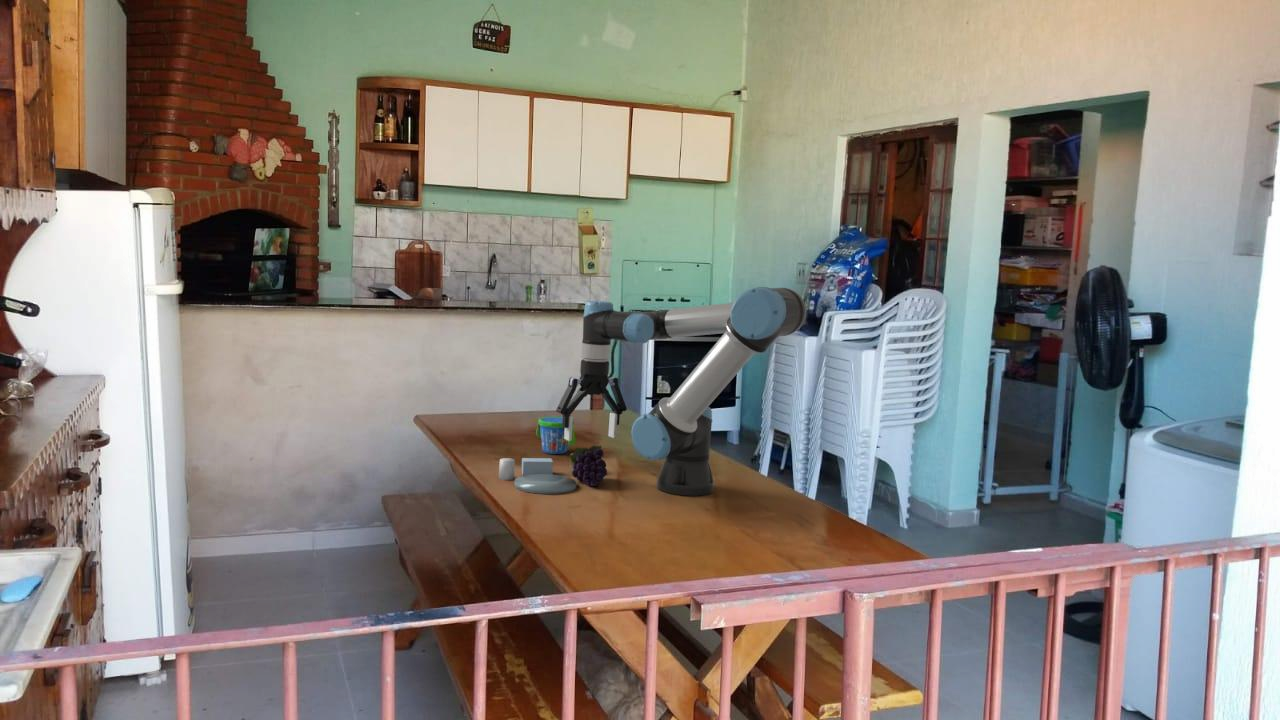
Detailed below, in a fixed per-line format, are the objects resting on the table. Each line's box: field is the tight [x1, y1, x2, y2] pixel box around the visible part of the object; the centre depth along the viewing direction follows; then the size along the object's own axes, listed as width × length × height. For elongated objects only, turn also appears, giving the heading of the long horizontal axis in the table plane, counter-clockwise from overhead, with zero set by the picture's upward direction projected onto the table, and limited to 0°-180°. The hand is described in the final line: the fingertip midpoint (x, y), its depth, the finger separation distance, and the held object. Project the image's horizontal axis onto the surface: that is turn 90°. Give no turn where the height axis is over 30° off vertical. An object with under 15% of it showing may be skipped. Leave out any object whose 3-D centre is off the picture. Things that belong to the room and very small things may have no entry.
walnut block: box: [568, 453, 574, 473], centre depth 262 cm, size 5×5×5 cm
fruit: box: [568, 444, 608, 488], centre depth 250 cm, size 10×11×15 cm
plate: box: [514, 474, 577, 495], centre depth 243 cm, size 16×16×1 cm
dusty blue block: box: [521, 457, 554, 476], centre depth 256 cm, size 4×8×4 cm, turn 103°
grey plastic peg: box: [498, 457, 516, 481], centre depth 249 cm, size 4×4×5 cm
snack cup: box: [535, 416, 576, 455], centre depth 283 cm, size 16×10×10 cm
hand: (590, 438), depth 249 cm, fingers open, 13 cm apart
